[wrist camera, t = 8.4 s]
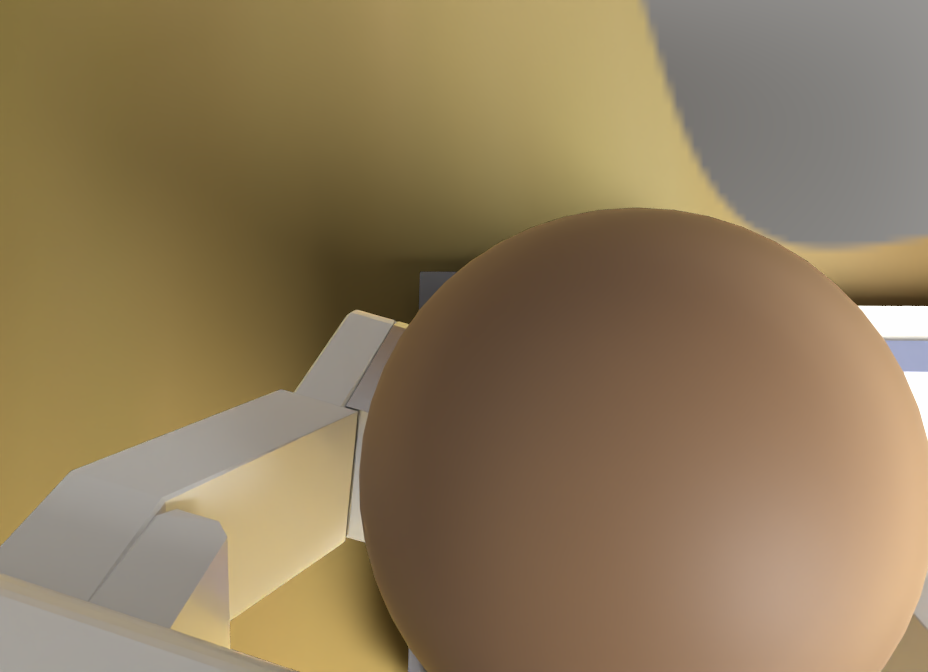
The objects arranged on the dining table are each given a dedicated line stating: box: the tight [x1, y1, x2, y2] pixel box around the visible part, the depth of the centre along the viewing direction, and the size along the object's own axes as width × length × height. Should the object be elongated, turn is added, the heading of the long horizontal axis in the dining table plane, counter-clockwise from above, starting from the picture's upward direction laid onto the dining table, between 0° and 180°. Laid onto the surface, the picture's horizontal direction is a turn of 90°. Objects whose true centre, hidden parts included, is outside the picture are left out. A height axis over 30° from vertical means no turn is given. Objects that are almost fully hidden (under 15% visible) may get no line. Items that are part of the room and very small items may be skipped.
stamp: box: [359, 208, 928, 672], centre depth 9 cm, size 4×4×11 cm
